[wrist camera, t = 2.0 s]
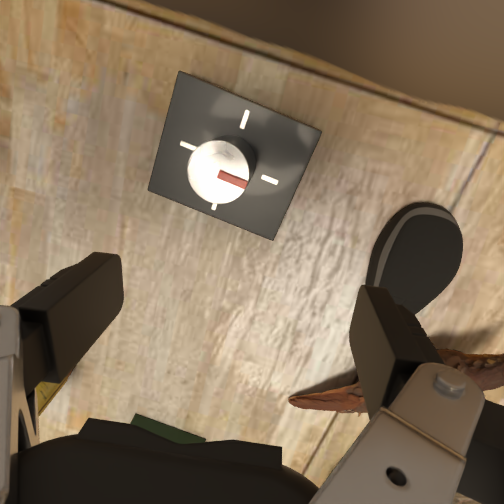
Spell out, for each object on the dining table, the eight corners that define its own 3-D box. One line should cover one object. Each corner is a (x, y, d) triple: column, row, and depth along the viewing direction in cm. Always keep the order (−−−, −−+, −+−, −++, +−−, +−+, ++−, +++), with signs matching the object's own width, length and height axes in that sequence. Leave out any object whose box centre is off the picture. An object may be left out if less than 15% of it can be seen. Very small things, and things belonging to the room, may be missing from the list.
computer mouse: (350, 306, 35) (357, 329, 32) (392, 194, 31) (406, 205, 27) (416, 321, 35) (430, 346, 32) (469, 211, 30) (493, 224, 27)
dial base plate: (159, 183, 32) (146, 190, 30) (189, 73, 28) (177, 69, 26) (274, 230, 33) (273, 242, 30) (319, 129, 29) (322, 131, 26)
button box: (122, 450, 48) (109, 478, 44) (135, 413, 45) (121, 440, 41) (188, 473, 49) (180, 503, 45) (205, 439, 45) (198, 468, 42)
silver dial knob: (196, 177, 29) (178, 191, 24) (213, 126, 27) (196, 129, 22) (244, 197, 29) (236, 214, 24) (264, 147, 27) (258, 155, 22)
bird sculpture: (280, 370, 43) (274, 404, 38) (505, 306, 32) (531, 343, 28) (306, 404, 45) (303, 440, 40) (526, 354, 34) (553, 396, 30)
